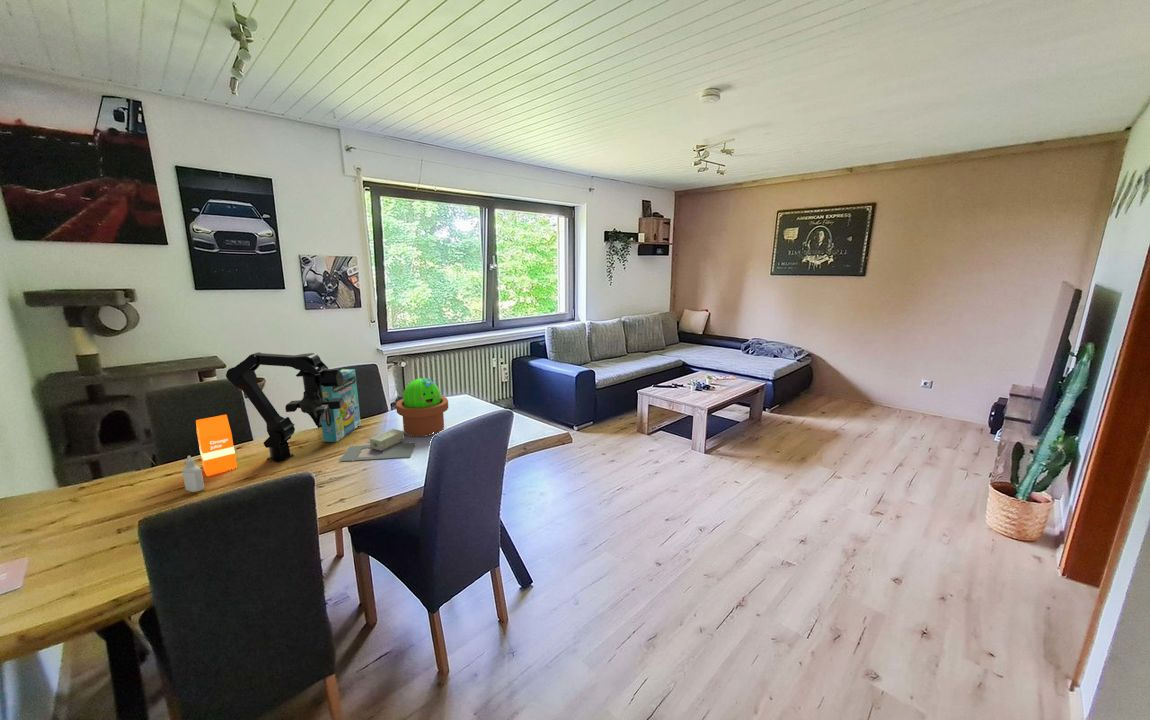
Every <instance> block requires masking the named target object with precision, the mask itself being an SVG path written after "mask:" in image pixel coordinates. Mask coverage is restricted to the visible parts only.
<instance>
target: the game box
mask: <svg viewBox="0 0 1150 720" xmlns="http://www.w3.org/2000/svg"><path fill="white" fill-rule="evenodd" d="M339 370H340V369H339ZM340 372H341V373H342V375H343V384H342V386H340V387H324V386H322V387H323V390H322V392H323V397H324V399H325V400H324V402H325V401H330V400H331V399H332V398H343V400H344V405H343V406H342V407H341V408H339V409H330V408H327V409H326V410H325V412H324V414H323V417H322V420H321V424H320V426H321V433H322V440H323V441H322V442H323V443H337V442H339V441H340V440H342V439H344V438H345V437H346V436H347V435H349V434H350V433H351V432H353V431H355V430H356V429H357V428H359V427H360V426H361V425H362V424H361V415H360V404H359V402H360V401H359V394H358V393H359V392H358V386H357V375H356V374H357V373H356V369H352V368H351V369H350V368H349V369H348V368H344V369H343V368H342V369H341V370H340ZM358 426H359V427H358Z"/></svg>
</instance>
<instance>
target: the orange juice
mask: <svg viewBox="0 0 1150 720" xmlns="http://www.w3.org/2000/svg"><path fill="white" fill-rule="evenodd" d="M195 425H196V435H197V441H198V447H199V453H200V456H201V462H202V469H203V472H204V473H205V475H206V476H207V477H210V476H213V475H216V474H220V473H224V472H225V473H226V472H229V471H232V470H236V469H238V465H237V464H238V463H237V458H236V451H235V446H234V441H233V434H232V430H231V427H230V423H229V418H228V415H227V414H221V415H217V416H212V417H205V418H199V419H196V420H195ZM235 468H236V469H235ZM231 469H232V470H231ZM228 470H229V471H228Z"/></svg>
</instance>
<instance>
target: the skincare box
mask: <svg viewBox="0 0 1150 720" xmlns="http://www.w3.org/2000/svg"><path fill="white" fill-rule="evenodd" d="M404 435H405V434H404V430H403V431H402V430H401V429H400V430H399V429H394V428H392V429H389V430H387V431H385V432H382V433H380V434H378V435H375V436H374V437H371V438H369V443H370V444H369V445H371V448H370V449H372V450H377V451H382V452H383V451H384V449H386V448H388V447H390V446H392V445H395V444H398V443H402V442H403V441H404V440H405V436H404Z"/></svg>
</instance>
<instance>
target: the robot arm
mask: <svg viewBox="0 0 1150 720" xmlns="http://www.w3.org/2000/svg"><path fill="white" fill-rule="evenodd" d="M260 366H273V367H289V368H293V369H295V370H297V371H298V370H299V372H297V374H296V375H295V376H296V377H297V378H298V377H301V378H302V380H303V381H302V382H303V383H302V384H303V389H304V391H303V396H302V399H300V400H291V401H289V402H288V403H287V404H285V412H286V413H293V412H296V411H297V410H298V409H300V411H301V412H302V413H304V414H307V415H309V417H310V418H311V419H312V420H313V423H314V424H315V425H316V427H320V426H321V420H322V417H323V414H324V412H325V410H326V409H327V408H330V409H339V408H341V407H342V406H343V405H344V400H343V398H332V399H331V400H330V401H325V402H324V400H325V399H324V397H323V392H322V390H323V387H322V386H324V387H340V386H342V384H343V375H342V373H341V372H340V368H329V367H328V366H327V365H326V364H325V363H324V362H323V361H322V360H321V357H320V356H319V355H318V354H317V353H314V352H311V353H301V354H294V355H293V354H280V353H279V354H277V353H263V352H255V353H252V354H250V355H248V356H247V357H246V358H245V359H243V360H242V361H240V362H239V363H238V364H237V365H235V366H233V367H230V368H228V369H227V370H226V372H225V377H226V380H228V381H229V382H230V384H232V386H234V387H235V388H237V389H238V390H241V391H242V392H243V393H244V394H245V396H246V397H247V398H248V400H249V401H250V403H251V404H252V405H253V407H254V408H255V409H256V411H257V413H258V414H259V415H260V416H261V418H262V419H263V420H264V422H265V424H266V426H265V427H266V432H267V434H268V437H267V438H266V439H265V440H264V441H263V442H262V443H263V445H264V447H265V448H267V449H269V455H270V457H267V458H266V461H270V462H276V463H281V462H282V461H286V460H287V459H289V458H292V457H294V456H295V455H294V454H293V453H291V451H290V450H291V449H290V445H289V442H288V441H289V440H291V439H292V436H293V435H294V433H295V430H296V428H295V423H293V422H292V420H291V418H290V417H289V416H286V417H283V416H282V415H280V413H278V411H277V409H276V408H275V407H274V405H273V404H272V403H271V401H270V400H269V398H268V396H267V395H265V393H264V391H263V390H262V389H261V387H260V386H259V384H258V378H257V374H256V370H257V369H259V367H260Z"/></svg>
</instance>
